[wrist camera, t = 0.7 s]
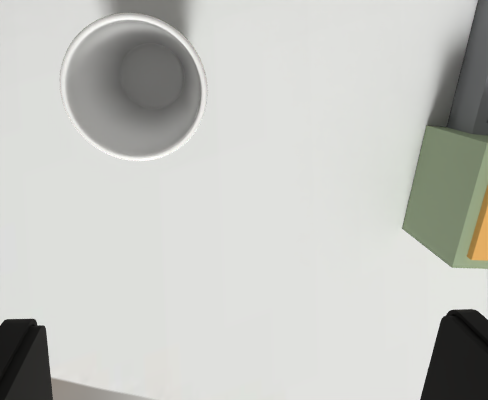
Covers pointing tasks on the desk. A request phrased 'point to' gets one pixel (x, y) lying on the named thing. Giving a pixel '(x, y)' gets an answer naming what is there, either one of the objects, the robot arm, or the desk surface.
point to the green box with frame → (457, 166)
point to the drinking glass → (133, 86)
